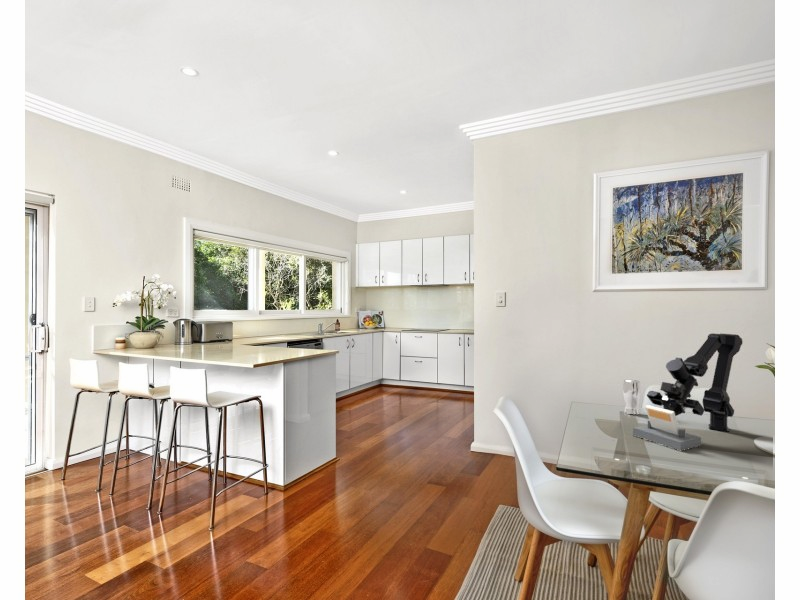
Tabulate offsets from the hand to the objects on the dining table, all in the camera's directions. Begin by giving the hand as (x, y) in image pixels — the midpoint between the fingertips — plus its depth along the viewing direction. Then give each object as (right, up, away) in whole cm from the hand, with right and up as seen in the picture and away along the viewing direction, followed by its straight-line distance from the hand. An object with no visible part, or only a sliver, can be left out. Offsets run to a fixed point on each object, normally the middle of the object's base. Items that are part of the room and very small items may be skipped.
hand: (664, 420), depth 160 cm
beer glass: (+8, -7, +37) cm, 39 cm away
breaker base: (+1, -8, 0) cm, 8 cm away
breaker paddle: (+1, -4, 0) cm, 4 cm away
